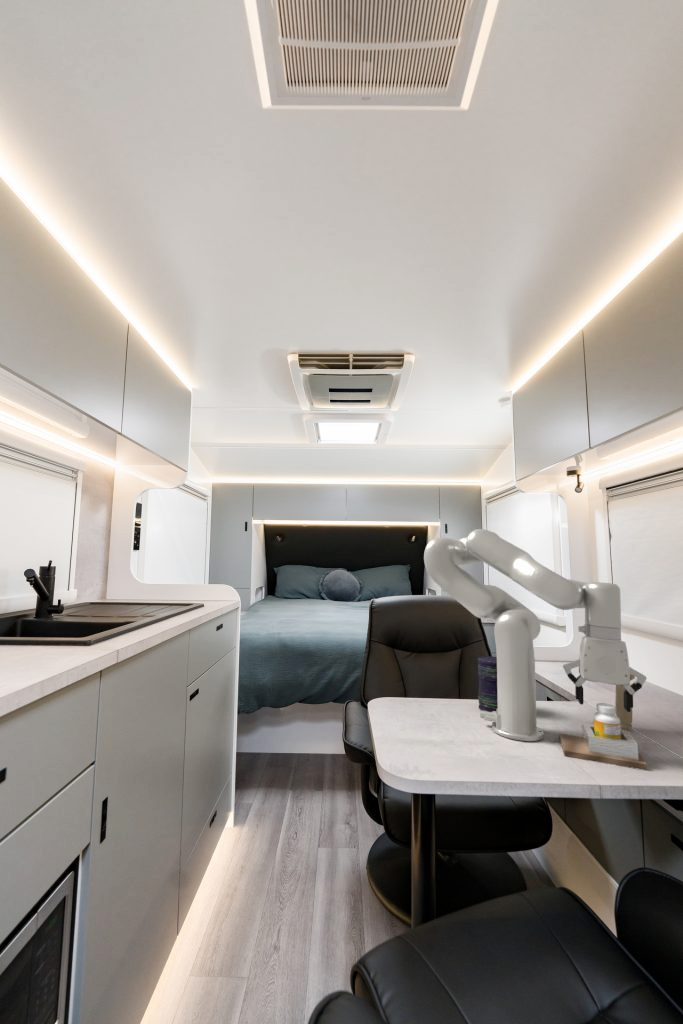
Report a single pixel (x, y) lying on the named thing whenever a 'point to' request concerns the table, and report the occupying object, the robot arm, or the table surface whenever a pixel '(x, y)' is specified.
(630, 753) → the socket
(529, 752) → the table surface
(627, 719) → the handle
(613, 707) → the supplement bottle
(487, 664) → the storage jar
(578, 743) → the mount plate
